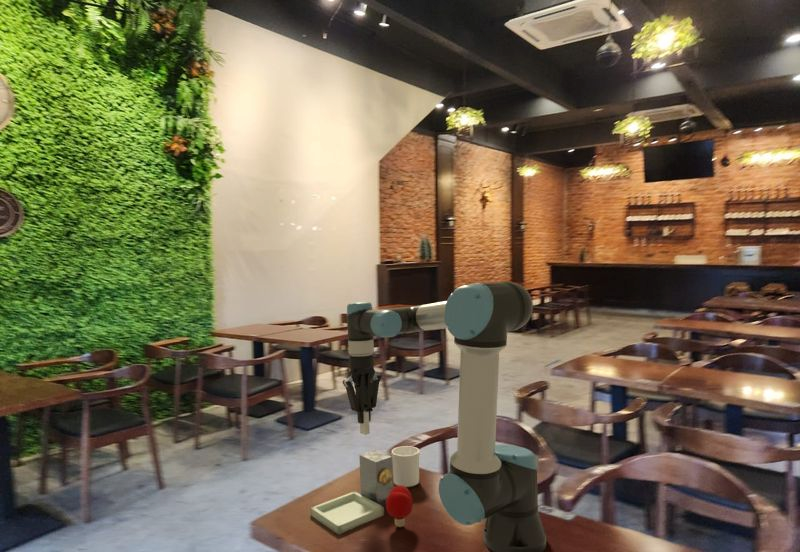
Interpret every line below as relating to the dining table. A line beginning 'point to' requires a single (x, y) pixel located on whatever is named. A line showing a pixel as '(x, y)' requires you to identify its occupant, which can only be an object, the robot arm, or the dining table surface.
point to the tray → (347, 512)
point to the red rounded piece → (399, 504)
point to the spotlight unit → (376, 476)
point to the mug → (406, 466)
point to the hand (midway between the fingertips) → (364, 433)
